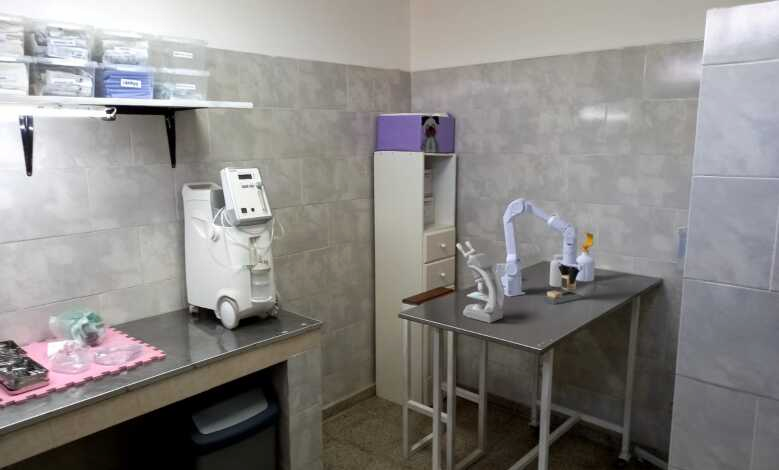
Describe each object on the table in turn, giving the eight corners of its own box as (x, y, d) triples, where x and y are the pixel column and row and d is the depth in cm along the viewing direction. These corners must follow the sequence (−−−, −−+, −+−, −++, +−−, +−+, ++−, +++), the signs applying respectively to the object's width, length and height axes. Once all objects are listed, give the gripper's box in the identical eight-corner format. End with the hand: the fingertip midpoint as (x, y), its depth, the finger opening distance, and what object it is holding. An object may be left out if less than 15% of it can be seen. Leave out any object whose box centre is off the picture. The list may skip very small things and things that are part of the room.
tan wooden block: (566, 290, 245) (566, 277, 244) (560, 288, 248) (561, 275, 247) (575, 288, 247) (576, 275, 246) (569, 287, 251) (570, 274, 249)
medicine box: (511, 280, 283) (512, 263, 281) (512, 282, 278) (513, 265, 277) (496, 279, 284) (496, 263, 282) (496, 282, 279) (497, 265, 278)
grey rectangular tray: (553, 304, 241) (553, 299, 240) (543, 300, 247) (543, 295, 246) (581, 299, 248) (581, 294, 247) (570, 295, 254) (570, 290, 253)
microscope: (469, 308, 238) (469, 239, 232) (506, 318, 224) (507, 245, 219) (453, 314, 230) (452, 243, 225) (490, 324, 217) (491, 249, 212)
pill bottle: (568, 287, 266) (569, 257, 264) (552, 287, 267) (552, 257, 264) (564, 283, 274) (565, 253, 272) (547, 283, 275) (548, 253, 272)
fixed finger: (554, 301, 242) (555, 294, 242) (547, 298, 246) (547, 291, 246) (562, 299, 244) (562, 293, 244) (554, 296, 248) (555, 290, 248)
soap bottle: (571, 278, 283) (572, 231, 278) (584, 276, 286) (586, 229, 282) (583, 282, 274) (585, 233, 270) (597, 280, 278) (600, 232, 274)
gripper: (589, 254, 240) (587, 285, 243) (565, 249, 253) (564, 278, 256) (576, 256, 237) (575, 287, 240) (553, 250, 250) (552, 280, 253)
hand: (568, 282), depth 247 cm, fingers closed on tan wooden block, 3 cm apart
